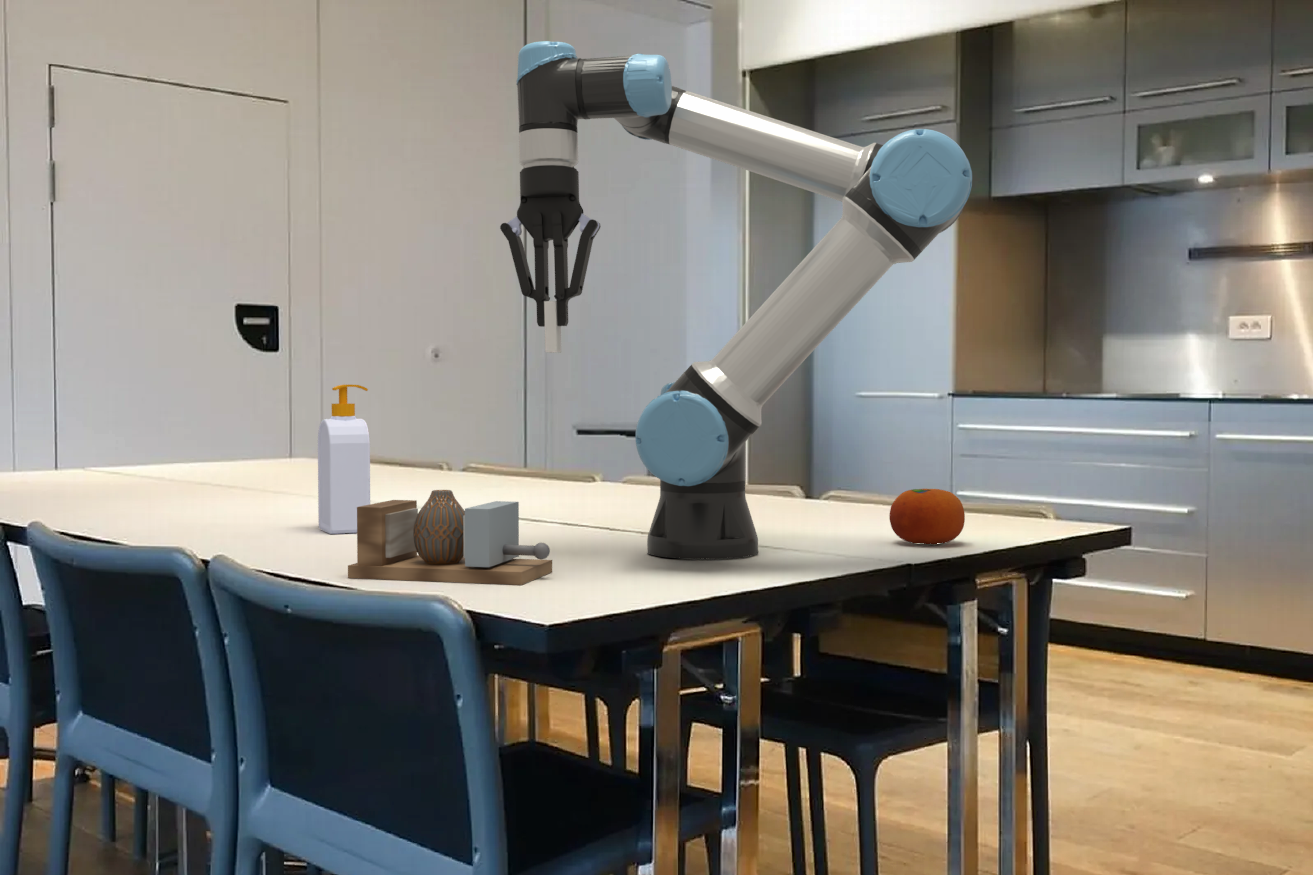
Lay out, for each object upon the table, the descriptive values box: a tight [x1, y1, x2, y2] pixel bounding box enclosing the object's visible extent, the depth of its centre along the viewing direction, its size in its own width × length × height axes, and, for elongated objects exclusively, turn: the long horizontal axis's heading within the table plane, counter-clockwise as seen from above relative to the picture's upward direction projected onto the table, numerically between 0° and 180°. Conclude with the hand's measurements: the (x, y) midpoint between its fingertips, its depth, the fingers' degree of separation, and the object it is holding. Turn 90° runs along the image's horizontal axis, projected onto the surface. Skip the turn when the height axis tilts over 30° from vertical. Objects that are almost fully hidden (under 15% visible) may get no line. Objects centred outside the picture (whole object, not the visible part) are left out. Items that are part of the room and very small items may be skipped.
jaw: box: [463, 500, 551, 567], centre depth 164 cm, size 9×10×7 cm
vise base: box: [347, 499, 553, 586], centre depth 166 cm, size 22×11×8 cm, turn 76°
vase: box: [413, 489, 465, 564], centre depth 167 cm, size 7×7×9 cm
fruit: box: [888, 488, 966, 545], centre depth 198 cm, size 11×10×8 cm
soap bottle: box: [317, 384, 371, 535], centre depth 214 cm, size 9×7×23 cm
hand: (553, 352), depth 176 cm, fingers closed
